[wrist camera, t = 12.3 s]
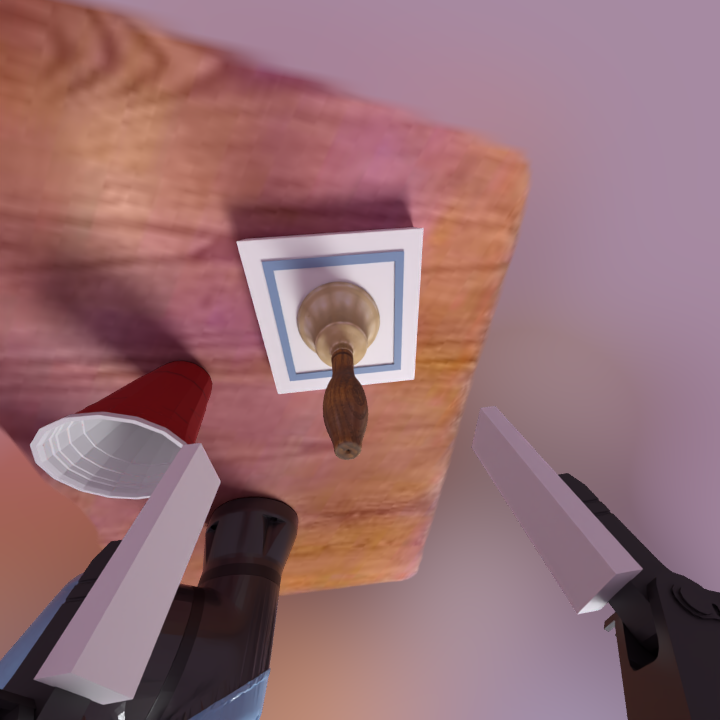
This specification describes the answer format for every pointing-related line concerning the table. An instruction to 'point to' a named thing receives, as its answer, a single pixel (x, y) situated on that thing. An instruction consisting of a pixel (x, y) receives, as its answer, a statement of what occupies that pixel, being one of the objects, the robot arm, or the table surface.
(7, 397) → the table surface
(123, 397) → the plastic cup
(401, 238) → the display board
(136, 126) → the table surface
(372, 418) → the table surface
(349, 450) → the hand bell
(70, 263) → the table surface
